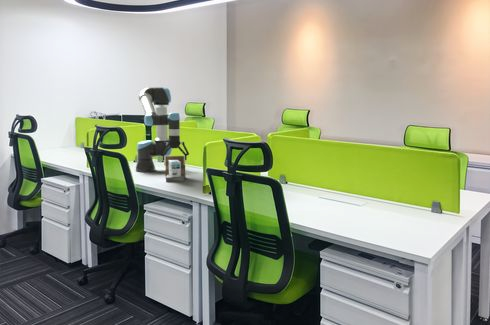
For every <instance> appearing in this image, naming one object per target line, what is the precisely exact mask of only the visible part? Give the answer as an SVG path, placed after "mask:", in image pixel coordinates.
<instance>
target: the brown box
mask: <svg viewBox="0 0 490 325" xmlns="http://www.w3.org/2000/svg"><path fill="white" fill-rule="evenodd" d="M184 156H185V155H169V156H165V158H166V165H164V166H165V182H166V183H169V182H170V183H174V182H177V183H179V182H182V183H183V182H184V181H185V179H186V164H185V165H184ZM168 160H178V161H180V162H181V177H171V176H170V175H169V161H168Z"/></svg>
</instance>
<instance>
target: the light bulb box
mask: <svg viewBox="0 0 490 325" xmlns="http://www.w3.org/2000/svg"><path fill="white" fill-rule="evenodd" d="M168 161H169V175H170V176H171V177H181V162H180V161H178V160H168Z"/></svg>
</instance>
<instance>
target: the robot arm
mask: <svg viewBox="0 0 490 325" xmlns="http://www.w3.org/2000/svg"><path fill="white" fill-rule="evenodd" d="M138 101H139V103H140V105H142V106H141V107H142V109H143V111H144V114H145V115H144V118H143V120H144V121H143V122H144V125H145V126H149V127H152V126H153V127H154V126H156V127H155V130H156V138H154V141H153V140H150V139H149V140H142V141H139V142H138V143H137V146H136V149H137V150H136V151H137V154H136V155H137V161H136V165H135V172H139V173H141V172H142V173H147V172H154V171H156V166H155V164H154V160H153V158H155V157H156V158H157V157H159V158H160V157H162V161H163V165H164V166H165V165H166V158H165V156H171V154H172V150H173V149H178V150H179V151H180V152H181V153H182V154H183V156H184V165H185V166H186V161H187V158H188V156H189V155H190V152H189V151H188V148H187V147H186V145H185V141H182V142H181V136H180V135H181V132H180V131H181V129H180V119H181V117H180V113H179V112H169V113H168V107H169V105H170V103H171V102H172V95H171V91H170V89H169V88H168V87H152V86H151V87H146V88H144V89H142V90H141V91H140V92H139V95H138ZM180 145H181V146H182V147H183V148H184V149H183V148H181V146H180ZM184 150H185V151H184Z"/></svg>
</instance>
